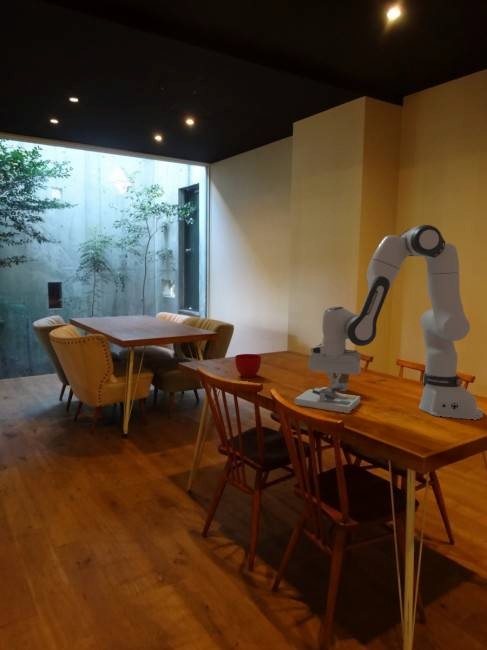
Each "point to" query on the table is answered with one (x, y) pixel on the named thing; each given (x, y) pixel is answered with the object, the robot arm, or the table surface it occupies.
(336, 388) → the rocker back
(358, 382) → the table surface
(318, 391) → the rocker front
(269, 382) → the table surface
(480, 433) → the table surface
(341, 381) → the coffee cup
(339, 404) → the switch unit
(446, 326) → the robot arm
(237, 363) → the ceramic cup
